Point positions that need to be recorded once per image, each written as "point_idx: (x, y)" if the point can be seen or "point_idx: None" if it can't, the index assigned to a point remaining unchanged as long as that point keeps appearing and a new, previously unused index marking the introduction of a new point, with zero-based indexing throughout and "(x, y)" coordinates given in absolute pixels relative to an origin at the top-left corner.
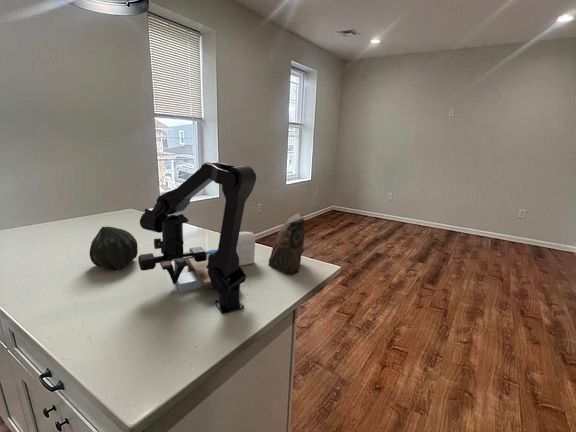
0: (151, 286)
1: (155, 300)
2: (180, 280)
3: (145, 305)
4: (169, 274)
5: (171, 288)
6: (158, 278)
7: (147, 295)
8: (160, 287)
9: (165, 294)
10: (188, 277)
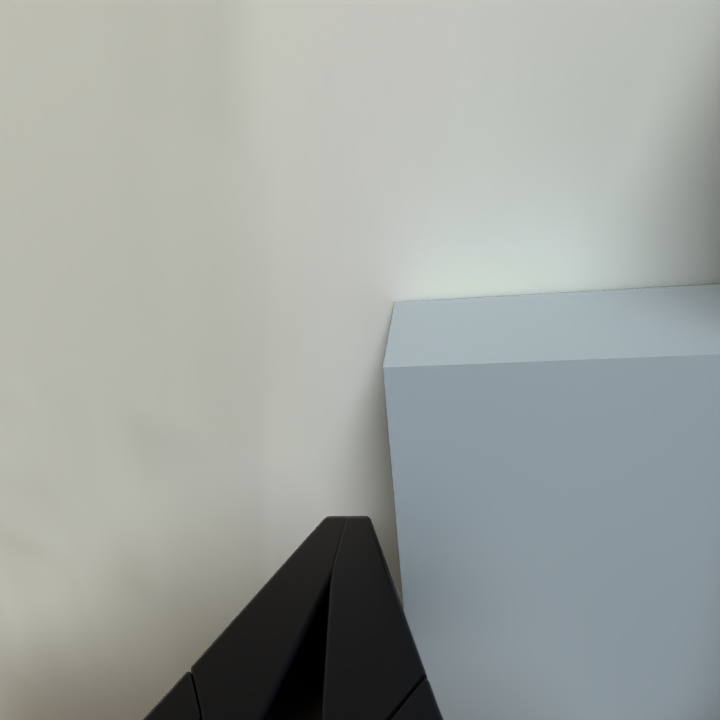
0: (7, 327)
1: (129, 667)
2: (453, 649)
3: (47, 703)
4: (213, 660)
5: (312, 498)
6: (65, 3)
7: (17, 547)
8: (151, 410)
9: (230, 604)
10: (645, 611)
